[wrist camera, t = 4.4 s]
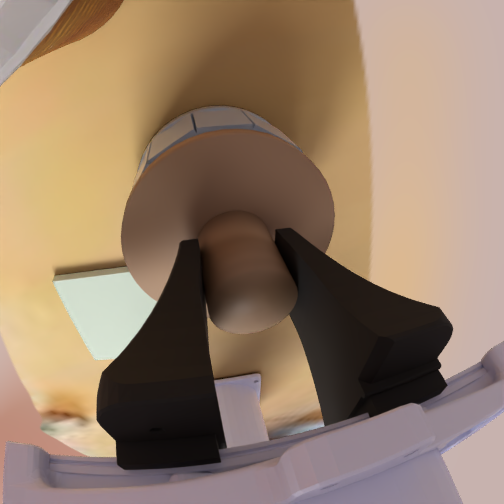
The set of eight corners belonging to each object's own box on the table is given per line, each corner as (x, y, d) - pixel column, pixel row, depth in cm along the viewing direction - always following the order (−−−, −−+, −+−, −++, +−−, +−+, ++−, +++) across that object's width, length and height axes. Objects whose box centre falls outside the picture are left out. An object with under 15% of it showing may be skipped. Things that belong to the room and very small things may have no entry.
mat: (197, 344, 26) (197, 349, 25) (95, 354, 24) (95, 360, 23) (181, 259, 20) (182, 265, 20) (54, 275, 18) (52, 281, 18)
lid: (306, 296, 17) (336, 358, 14) (137, 312, 15) (139, 386, 12) (345, 135, 12) (409, 180, 9) (112, 133, 10) (85, 184, 7)
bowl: (287, 238, 21) (308, 278, 18) (150, 255, 19) (149, 301, 16) (296, 103, 16) (329, 121, 12) (126, 115, 14) (112, 137, 11)
